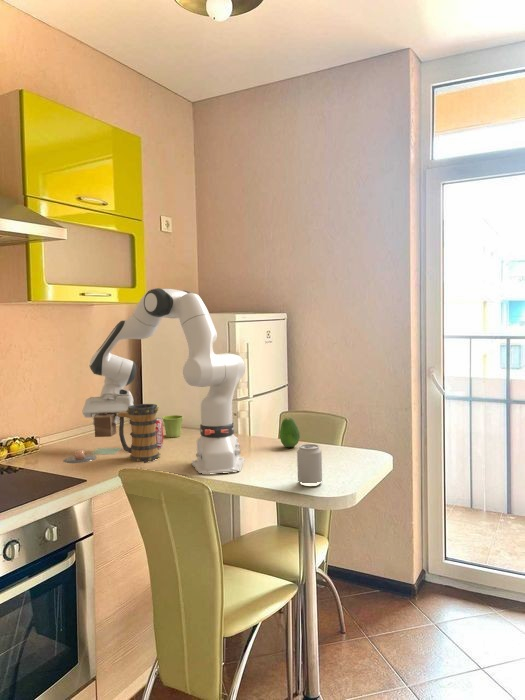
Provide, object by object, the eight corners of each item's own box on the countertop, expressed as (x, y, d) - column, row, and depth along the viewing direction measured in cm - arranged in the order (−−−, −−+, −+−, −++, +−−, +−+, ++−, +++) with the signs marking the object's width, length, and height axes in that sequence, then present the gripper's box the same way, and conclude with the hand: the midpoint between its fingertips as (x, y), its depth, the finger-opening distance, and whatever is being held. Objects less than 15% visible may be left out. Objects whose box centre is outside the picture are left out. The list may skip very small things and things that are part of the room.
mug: (153, 464, 201) (150, 409, 200) (110, 462, 205) (107, 408, 204) (167, 455, 213) (165, 403, 212) (127, 453, 217) (125, 403, 216)
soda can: (165, 446, 229) (164, 417, 228) (160, 450, 222) (159, 420, 221) (148, 446, 230) (147, 417, 229) (143, 450, 223) (142, 420, 222)
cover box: (100, 433, 224) (99, 411, 224) (116, 433, 224) (115, 411, 223) (95, 437, 218) (93, 414, 217) (111, 436, 217) (109, 413, 217)
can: (320, 480, 175) (319, 442, 174) (324, 487, 167) (323, 447, 167) (296, 481, 174) (295, 443, 174) (299, 488, 167) (298, 448, 166)
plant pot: (188, 435, 250) (187, 416, 249) (174, 439, 242) (173, 419, 241) (172, 433, 254) (171, 414, 254) (158, 437, 247) (157, 418, 246)
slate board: (93, 463, 205) (93, 461, 205) (59, 465, 203) (59, 463, 203) (99, 455, 217) (99, 454, 217) (67, 457, 215) (67, 456, 215)
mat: (114, 455, 216) (114, 454, 216) (89, 455, 217) (89, 454, 217) (122, 449, 226) (122, 448, 226) (98, 449, 227) (98, 448, 227)
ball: (83, 459, 208) (83, 451, 208) (74, 460, 208) (73, 452, 208) (85, 457, 212) (85, 449, 212) (76, 458, 211) (75, 450, 211)
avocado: (276, 447, 220) (275, 417, 220) (290, 444, 225) (289, 415, 225) (289, 451, 214) (288, 420, 213) (304, 447, 219) (303, 417, 218)
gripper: (84, 392, 227) (76, 420, 218) (133, 390, 226) (127, 418, 217) (89, 402, 232) (81, 429, 223) (137, 400, 231) (131, 428, 222)
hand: (104, 424), depth 220 cm, fingers closed on cover box, 6 cm apart
